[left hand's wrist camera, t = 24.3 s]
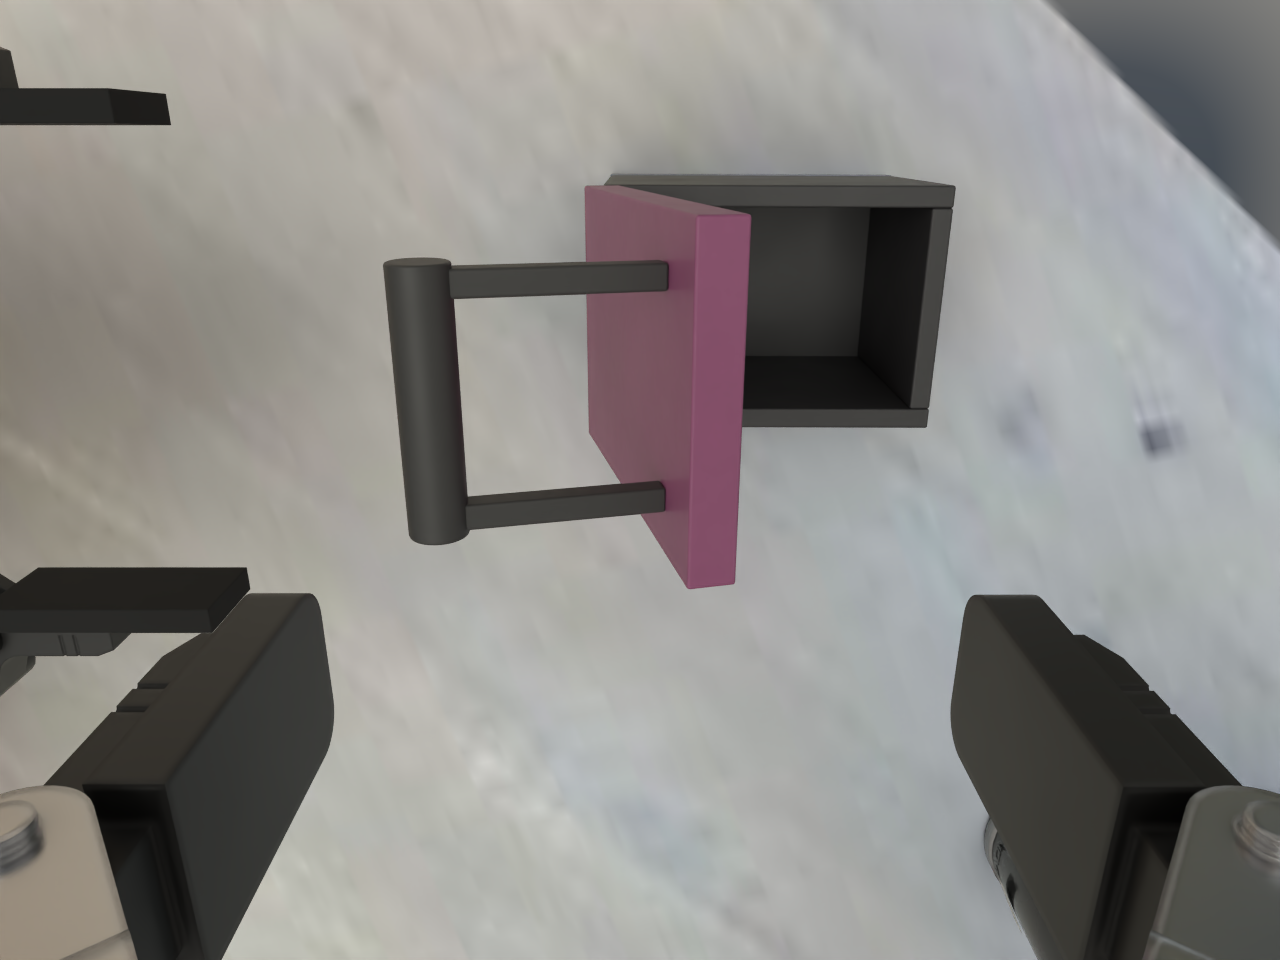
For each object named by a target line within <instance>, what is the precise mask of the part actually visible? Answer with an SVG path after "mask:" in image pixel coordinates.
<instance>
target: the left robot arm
mask: <svg viewBox="0 0 1280 960" xmlns="http://www.w3.org/2000/svg"><path fill="white" fill-rule="evenodd" d="M333 723H334V701H333V693H332V686H331V679H330V672H329V665H328V658H327V651H326V644H325V637H324V630H323V623H322V616H321V610H320V606H319V603H318V601H317V599H316V597H315V596H314V595H313V594H310V593H251V594H248V595H246V596H245V597H244V598H243V599H242V600H241V601H240V602H239V603H238V604H237V606H236V607H235V608H234V609H233V610H232V611H231V613H230V614H229V615H228V616H227V617H226V618H225V619H224V621H223V622H222V623H221V624H220V625H219V626H218V628H217V629H216V630H215V631H214V632H213V633H201V634H199V635H198V636H196V637H194V638H193V639H191V640H189V641H188V642H186V643H184V644H183V645H181V646H179V647H178V648H176V649H174V650H173V651H171V652H169V653H168V654H166V655H164V656H163V657H162V658H161V659H160V660H159V661H158V662H157V663H156V664H155V665H154V666H153V667H152V669H151V670H150V671H149V672H148V673H147V674H146V675H145V676H144V677H143V678H142V679H141V680H140V682H139V683H138V687H137V689H132V690H131V691H130V692H129V693H128V695H127V696H126V697H125V698H124V699H123V700H122V701H121V702H120V703H119V704H118V705H117V710H116V712H111V713H110V714H109V715H108V716H107V717H106V718H105V719H104V721H103V722H102V723H101V724H100V725H99V726H98V727H97V728H96V729H95V730H94V731H93V732H92V734H91V735H90V736H89V737H88V738H87V739H86V740H85V741H84V742H83V743H82V744H81V745H80V747H79V748H78V749H77V750H76V751H75V752H74V753H73V754H72V755H71V756H70V757H69V758H68V759H67V761H66V762H65V763H64V764H63V765H62V766H61V767H60V768H59V769H58V770H57V771H56V772H55V774H54V775H53V776H52V777H51V778H50V779H49V780H48V781H47V782H46V783H45V784H44V785H43V786H35V787H28V788H23V789H18V790H13V791H10V792H6V793H3V794H0V960H222V958H223V956H224V954H225V952H226V950H227V948H228V946H229V944H230V942H231V940H232V938H233V936H234V934H235V932H236V930H237V928H238V926H239V924H240V922H241V920H242V918H243V916H244V914H245V912H246V911H247V909H248V907H249V905H250V903H251V901H252V899H253V897H254V895H255V893H256V891H257V889H258V887H259V885H260V883H261V881H262V879H263V877H264V875H265V873H266V871H267V869H268V867H269V865H270V864H271V862H272V860H273V858H274V856H275V854H276V852H277V850H278V848H279V846H280V844H281V842H282V840H283V838H284V836H285V834H286V832H287V830H288V828H289V826H290V824H291V822H292V820H293V818H294V816H295V815H296V813H297V811H298V809H299V807H300V805H301V803H302V801H303V799H304V797H305V795H306V793H307V791H308V789H309V787H310V785H311V783H312V781H313V779H314V777H315V775H316V773H317V771H318V769H319V767H320V766H321V764H322V762H323V760H324V758H325V756H326V753H327V751H328V748H329V745H330V741H331V737H332V731H333ZM951 728H952V735H953V740H954V744H955V748H956V751H957V753H958V756H959V758H960V760H961V762H962V764H963V766H964V768H965V770H966V771H967V773H968V775H969V777H970V779H971V781H972V783H973V785H974V787H975V789H976V791H977V793H978V795H979V797H980V799H981V801H982V802H983V804H984V806H985V808H986V810H987V812H988V814H989V816H990V820H989V822H988V824H987V828H986V831H985V838H984V846H985V852H986V856H987V859H988V861H989V863H990V865H991V867H992V869H993V871H994V873H995V876H996V877H997V879H998V880H999V882H1000V884H1001V886H1002V888H1003V891H1004V893H1005V896H1006V898H1007V901H1008V903H1009V906H1010V909H1011V911H1012V914H1013V916H1014V919H1015V921H1016V923H1017V925H1018V922H1017V920H1016V917H1015V915H1014V912H1015V914H1016V916H1017V918H1018V920H1019V922H1020V924H1021V926H1022V928H1023V930H1024V932H1025V934H1026V936H1027V938H1028V941H1029V943H1030V945H1031V947H1032V949H1033V951H1034V953H1035V955H1036V957H1037V959H1038V960H1280V794H1277V793H1274V792H1270V791H1267V790H1262V789H1257V788H1252V787H1245V786H1242V785H1241V784H1240V783H1239V782H1238V781H1237V780H1236V779H1235V778H1234V776H1233V775H1232V774H1231V773H1230V772H1229V771H1228V770H1227V769H1226V768H1225V767H1224V766H1223V765H1222V764H1221V763H1220V761H1219V760H1218V759H1217V758H1216V757H1215V756H1214V755H1213V754H1212V753H1211V752H1210V751H1209V750H1208V749H1207V747H1206V746H1205V745H1204V744H1203V743H1202V742H1201V741H1200V740H1199V739H1198V738H1197V737H1196V736H1195V735H1194V734H1193V732H1192V731H1191V730H1190V729H1189V728H1188V727H1187V726H1186V725H1185V724H1184V723H1183V722H1182V721H1181V720H1180V719H1179V717H1178V716H1177V715H1176V714H1171V713H1170V708H1169V707H1168V706H1167V705H1166V703H1165V702H1164V701H1163V700H1162V699H1161V698H1160V697H1159V696H1158V695H1157V694H1156V693H1155V692H1154V691H1149V685H1148V684H1147V683H1146V682H1145V681H1144V680H1143V679H1142V678H1141V677H1140V676H1139V675H1138V673H1137V672H1136V671H1135V670H1134V669H1133V668H1132V667H1131V666H1130V665H1129V664H1128V663H1127V662H1126V661H1125V659H1124V658H1122V657H1120V656H1119V655H1117V654H1115V653H1114V652H1112V651H1110V650H1109V649H1107V648H1105V647H1104V646H1102V645H1100V644H1099V643H1097V642H1095V641H1094V640H1092V639H1090V638H1089V637H1087V636H1085V635H1073V634H1072V633H1071V632H1070V630H1069V629H1068V628H1067V627H1066V626H1065V625H1064V624H1063V622H1062V621H1061V620H1060V619H1059V618H1058V617H1057V616H1056V614H1055V613H1054V612H1053V611H1052V610H1051V609H1050V608H1049V606H1048V605H1047V604H1046V603H1045V602H1044V601H1043V600H1042V599H1041V598H1040V597H1039V596H1037V595H973V596H972V597H971V598H970V599H969V600H968V602H967V605H966V608H965V611H964V617H963V623H962V630H961V637H960V644H959V651H958V658H957V665H956V672H955V679H954V686H953V693H952V700H951ZM1007 896H1008V897H1007ZM1009 901H1010V902H1009ZM1010 903H1011V904H1010ZM1011 905H1012V907H1013V909H1014V912H1013V910H1012V907H1011ZM1018 927H1019V925H1018ZM1019 929H1020V928H1019ZM1020 931H1021V930H1020Z"/></svg>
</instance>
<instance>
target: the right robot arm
mask: <svg viewBox="0 0 1280 960" xmlns="http://www.w3.org/2000/svg"><path fill="white" fill-rule="evenodd" d="M0 125H171V122H170V116H169V111H168V105H167V99H166V94H161V93H150V92H140V91H130V90H119V89H109V88H18V83H17V79H16V74H15V70H14V65H13V61H12V56H11V52H10V51H9V50H7V49H4V48H2V47H0ZM249 590H250V584H249V579H248V573H247V568H37V569H36V570H34V571H33V572H31V573H30V574H29V575H27V576H26V577H24V578H23V579H22V580H20V581H19V582H17V583H14V582H12V581H11V580H9V579H8V578H6V577H4V576H3V575H1V574H0V696H1V695H2V694H3V693H5V692H6V691H7V690H8V689H9V688H10V687H11V686H13V685H14V684H15V683H16V682H17V681H18V680H20V679H21V678H22V677H23V676H24V675H25V674H26V673H28V672H29V671H30V670H31V669H32V668H33V666H34V665H35V656H64V655H67V656H78V655H80V656H99V655H102V654H105V653H107V652H110V651H113V650H114V649H115V648H116V647H117V646H118V645H119V644H120V643H121V642H123V641H124V640H125V639H126V638H127V637H128V636H129V635H130V634H131V633H213V631H214V630H215V629H216V628H217V627H218V626H219V624H220V623H221V622H222V621H223V620H224V619H225V618H226V616H227V615H228V614H229V613H230V612H231V611H232V609H233V608H234V607H235V606H236V605H237V604H238V603H239V601H240V600H241V599H242V598H243V597H244V596H245V594H246V593H247V592H248V591H249Z"/></svg>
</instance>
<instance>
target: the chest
mask: <svg viewBox="0 0 1280 960" xmlns="http://www.w3.org/2000/svg"><path fill="white" fill-rule="evenodd" d="M612 185H619V186H623V187H628V188H632V189H637V190H642V191H646V192H651V193H655V194H660V195H664V196H669V197H674V198H678V199H683V200H687V201H692V202H696V203H701V204H706V205H710V206H715V207H719V208H724V209H728V210H733V211H738V212H742V213H747V214H750V215H751V237H750V259H749V281H748V303H747V325H746V348H745V370H744V392H743V414H742V427H885V428H925V427H927V421H928V412H929V410H928V409H927V408H929V403H930V395H931V386H932V378H933V370H934V362H935V353H936V345H937V337H938V328H939V320H940V312H941V304H942V295H943V287H944V279H945V271H946V262H947V254H948V246H949V237H950V229H951V221H952V213H953V210H952V207H953V205H954V197H955V189H956V188H955V186H953V185H946V184H940V183H933V182H926V181H919V180H913V179H906V178H899V177H893V176H889V175H729V174H611V177H610V178H609V179H608V181H607V182H606V183H605V184H604V186H612Z"/></svg>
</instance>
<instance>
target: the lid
mask: <svg viewBox="0 0 1280 960" xmlns="http://www.w3.org/2000/svg"><path fill="white" fill-rule="evenodd" d="M585 234H586V262H565V263H529V264H493V265H457V266H451V262H450V261H449V260H446V259H440V258H404V259H395V260H390V261H387V262H385V263H384V264H383V269H384V279H385V290H386V300H387V310H388V321H389V331H390V342H391V352H392V363H393V373H394V383H395V394H396V404H397V415H398V425H399V436H400V446H401V456H402V467H403V477H404V488H405V498H406V509H407V519H408V530H409V536H410V538H411V539H412V540H413V541H415V542H417V543H420V544H424V545H444V544H449V543H453V542H456V541H459V540H461V539H463V538H465V537H466V536H467V535H468V533H469V531H470V530H474V529H485V528H496V527H506V526H517V525H528V524H539V523H549V522H560V521H571V520H582V519H592V518H603V517H614V516H625V515H636V514H641V516H642V517H643V519H644V521H645V522H646V524H647V525H648V527H649V528H650V530H651V532H652V533H653V535H654V536H655V538H656V540H657V541H658V543H659V544H660V546H661V547H662V549H663V551H664V552H665V554H666V555H667V557H668V559H669V560H670V562H671V563H672V565H673V566H674V568H675V570H676V571H677V573H678V574H679V576H680V578H681V579H682V581H683V582H684V584H685V585H686V587H687V588H688V589H696V588H704V587H713V586H722V585H731V584H734V583H735V570H736V547H737V525H738V503H739V481H740V459H741V436H742V414H743V392H744V370H745V348H746V325H747V303H748V281H749V259H750V237H751V215H750V214H747V213H742V212H738V211H733V210H728V209H724V208H719V207H715V206H710V205H706V204H701V203H696V202H692V201H687V200H683V199H678V198H674V197H669V196H664V195H660V194H655V193H651V192H646V191H642V190H637V189H632V188H628V187H623V186H619V185H612V186H585ZM579 294H587V347H588V403H589V433H590V435H591V437H592V438H593V440H594V441H595V443H596V445H597V446H598V448H599V449H600V451H601V452H602V454H603V456H604V457H605V459H606V460H607V462H608V464H609V465H610V467H611V468H612V470H613V471H614V473H615V475H616V476H617V478H618V479H619V481H620V483H621V484H612V485H600V486H588V487H576V488H565V489H553V490H541V491H529V492H517V493H506V494H494V495H482V496H470V497H468V496H467V482H466V467H465V453H464V439H463V424H462V410H461V395H460V381H459V367H458V352H457V338H456V324H455V309H454V299H468V298H495V297H523V296H551V295H579Z"/></svg>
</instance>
